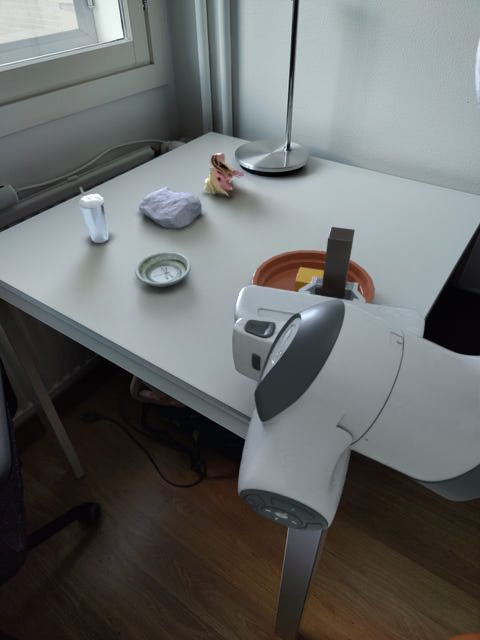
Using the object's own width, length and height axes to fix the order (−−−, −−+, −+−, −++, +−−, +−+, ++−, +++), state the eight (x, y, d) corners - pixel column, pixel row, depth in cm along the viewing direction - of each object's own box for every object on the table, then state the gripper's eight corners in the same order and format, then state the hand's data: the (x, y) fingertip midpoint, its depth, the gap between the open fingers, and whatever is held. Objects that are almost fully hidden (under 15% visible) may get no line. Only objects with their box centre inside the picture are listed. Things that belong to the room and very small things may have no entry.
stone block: (179, 239, 95) (206, 210, 100) (173, 220, 91) (201, 191, 96) (136, 225, 100) (164, 199, 105) (129, 207, 96) (158, 181, 101)
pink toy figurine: (211, 206, 103) (188, 168, 102) (222, 206, 112) (201, 172, 112) (246, 182, 100) (222, 144, 99) (253, 185, 110) (232, 150, 109)
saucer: (127, 275, 83) (125, 264, 81) (173, 256, 87) (172, 245, 85) (154, 302, 77) (152, 290, 75) (202, 280, 81) (201, 269, 80)
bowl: (375, 274, 82) (378, 259, 80) (365, 349, 68) (369, 333, 66) (267, 258, 86) (268, 243, 84) (237, 326, 72) (237, 310, 70)
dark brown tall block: (343, 322, 60) (359, 227, 51) (340, 340, 58) (356, 244, 48) (316, 317, 61) (327, 223, 52) (311, 335, 58) (322, 240, 49)
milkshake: (102, 229, 95) (90, 183, 88) (116, 238, 92) (106, 192, 85) (82, 237, 93) (69, 191, 86) (96, 247, 90) (84, 200, 83)
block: (321, 289, 78) (324, 270, 75) (318, 304, 75) (320, 284, 72) (298, 286, 79) (300, 266, 76) (293, 300, 76) (295, 280, 73)
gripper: (434, 363, 41) (431, 275, 51) (218, 324, 46) (253, 250, 56) (417, 407, 46) (418, 318, 55) (221, 367, 50) (254, 291, 60)
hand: (334, 283), depth 56 cm, fingers closed on dark brown tall block, 2 cm apart
